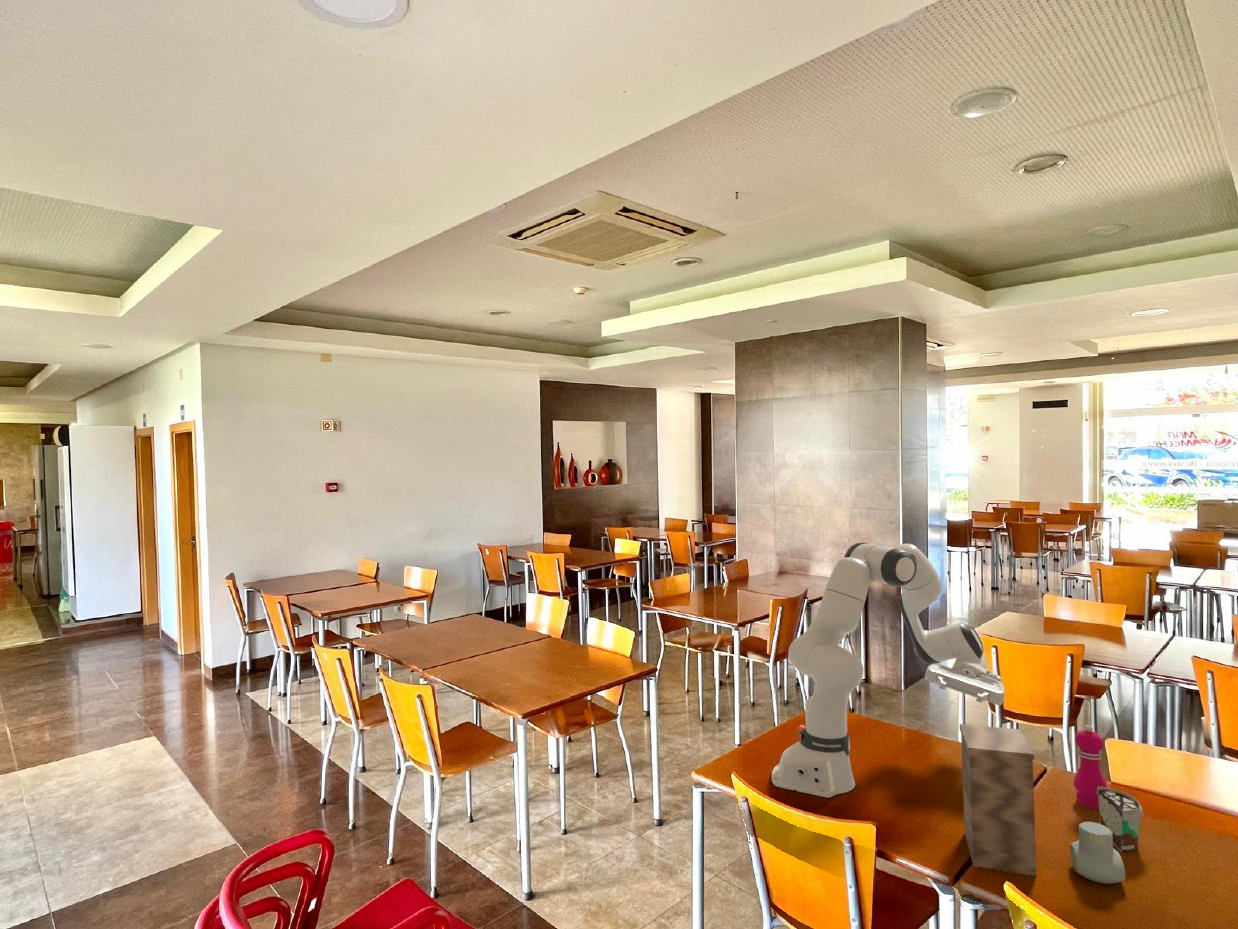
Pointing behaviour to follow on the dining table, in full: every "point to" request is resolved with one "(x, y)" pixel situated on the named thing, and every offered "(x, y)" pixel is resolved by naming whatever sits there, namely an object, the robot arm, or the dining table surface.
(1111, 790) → the food container
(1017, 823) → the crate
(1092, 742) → the pepper mill
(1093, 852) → the air freshener
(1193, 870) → the dining table surface
